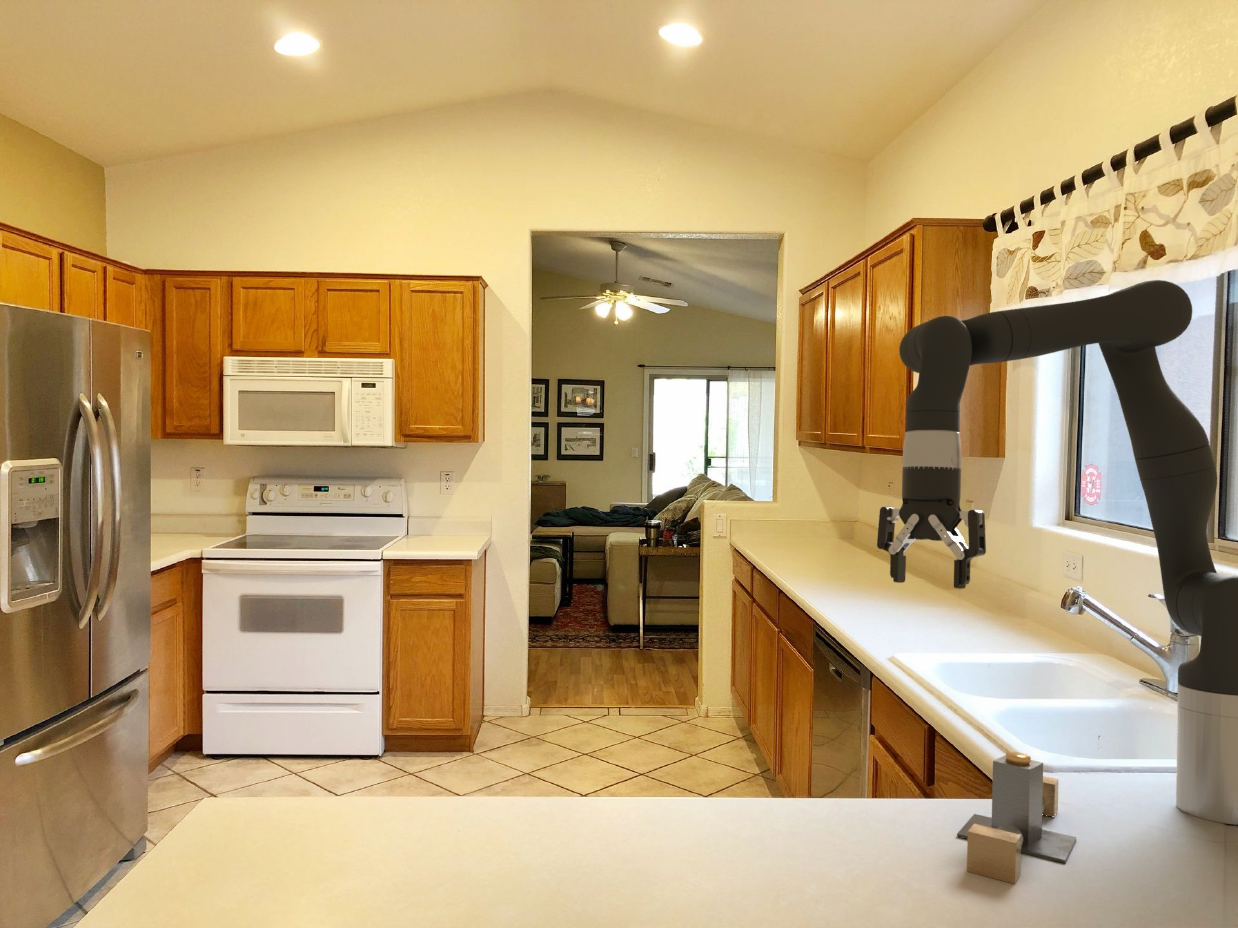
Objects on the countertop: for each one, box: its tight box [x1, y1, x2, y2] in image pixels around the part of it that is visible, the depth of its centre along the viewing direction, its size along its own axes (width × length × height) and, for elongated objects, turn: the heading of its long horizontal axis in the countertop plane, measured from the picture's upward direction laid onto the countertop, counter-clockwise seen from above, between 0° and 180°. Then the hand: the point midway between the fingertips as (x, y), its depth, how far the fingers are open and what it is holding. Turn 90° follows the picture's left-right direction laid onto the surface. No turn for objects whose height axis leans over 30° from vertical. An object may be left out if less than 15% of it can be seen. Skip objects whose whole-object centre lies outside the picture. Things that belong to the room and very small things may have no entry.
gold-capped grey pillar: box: [991, 751, 1044, 845], centre depth 107 cm, size 4×4×10 cm
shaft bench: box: [956, 775, 1077, 885], centre depth 107 cm, size 29×12×4 cm, turn 145°
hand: (928, 585), depth 117 cm, fingers open, 8 cm apart
